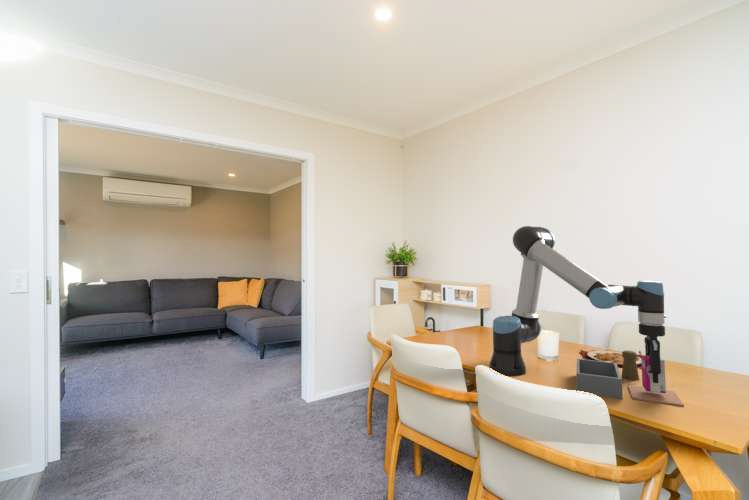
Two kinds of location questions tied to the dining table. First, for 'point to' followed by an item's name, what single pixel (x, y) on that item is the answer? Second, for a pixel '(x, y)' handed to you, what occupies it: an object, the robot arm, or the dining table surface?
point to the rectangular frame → (599, 378)
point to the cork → (629, 366)
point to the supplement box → (646, 376)
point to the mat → (654, 396)
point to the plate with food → (608, 357)
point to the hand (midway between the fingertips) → (653, 388)
